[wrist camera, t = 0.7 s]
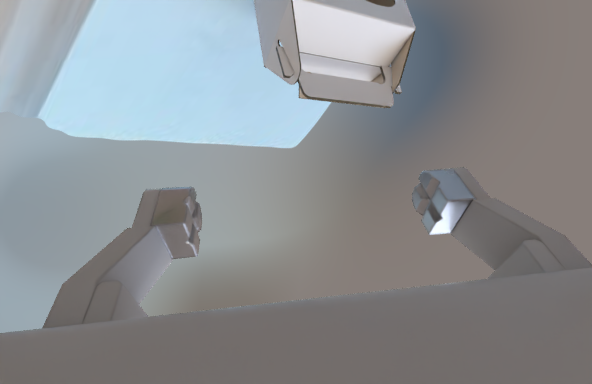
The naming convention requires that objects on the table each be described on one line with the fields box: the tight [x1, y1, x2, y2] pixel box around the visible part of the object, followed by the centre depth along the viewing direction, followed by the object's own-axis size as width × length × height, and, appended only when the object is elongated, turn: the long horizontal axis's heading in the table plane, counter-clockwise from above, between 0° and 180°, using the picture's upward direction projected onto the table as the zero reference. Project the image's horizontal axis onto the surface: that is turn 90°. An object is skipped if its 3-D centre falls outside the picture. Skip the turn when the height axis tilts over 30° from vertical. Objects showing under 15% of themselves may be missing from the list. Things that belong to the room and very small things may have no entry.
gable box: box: [254, 0, 416, 108], centre depth 50 cm, size 22×13×28 cm, turn 68°
